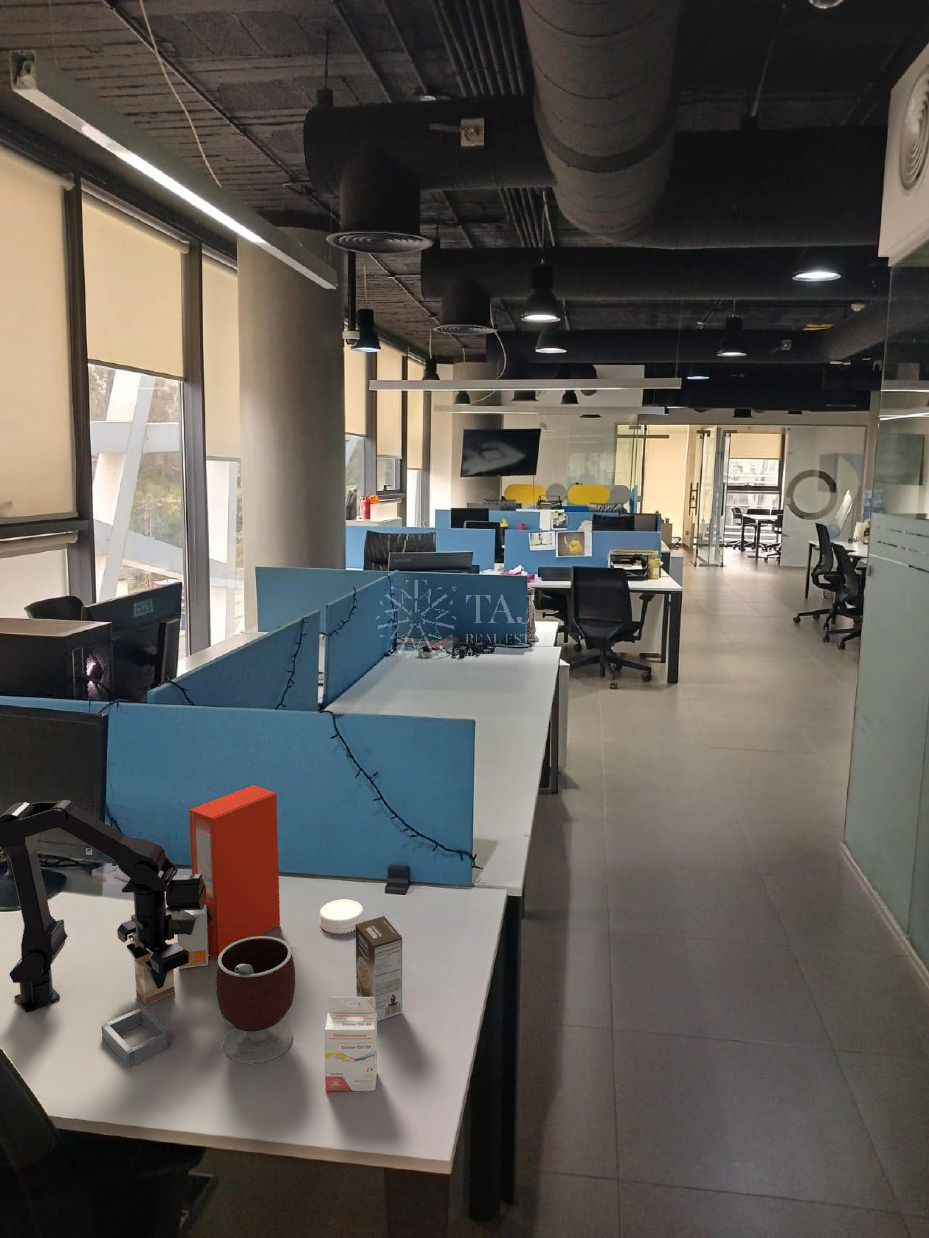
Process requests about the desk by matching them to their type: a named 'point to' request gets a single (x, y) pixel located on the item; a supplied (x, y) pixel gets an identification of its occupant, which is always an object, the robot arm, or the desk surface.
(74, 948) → the desk surface
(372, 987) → the coffee box
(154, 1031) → the collar
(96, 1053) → the desk surface
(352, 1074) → the ink cartridge box
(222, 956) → the mate gourd
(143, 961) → the block
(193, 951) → the skincare box
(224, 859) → the file binder
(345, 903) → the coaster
